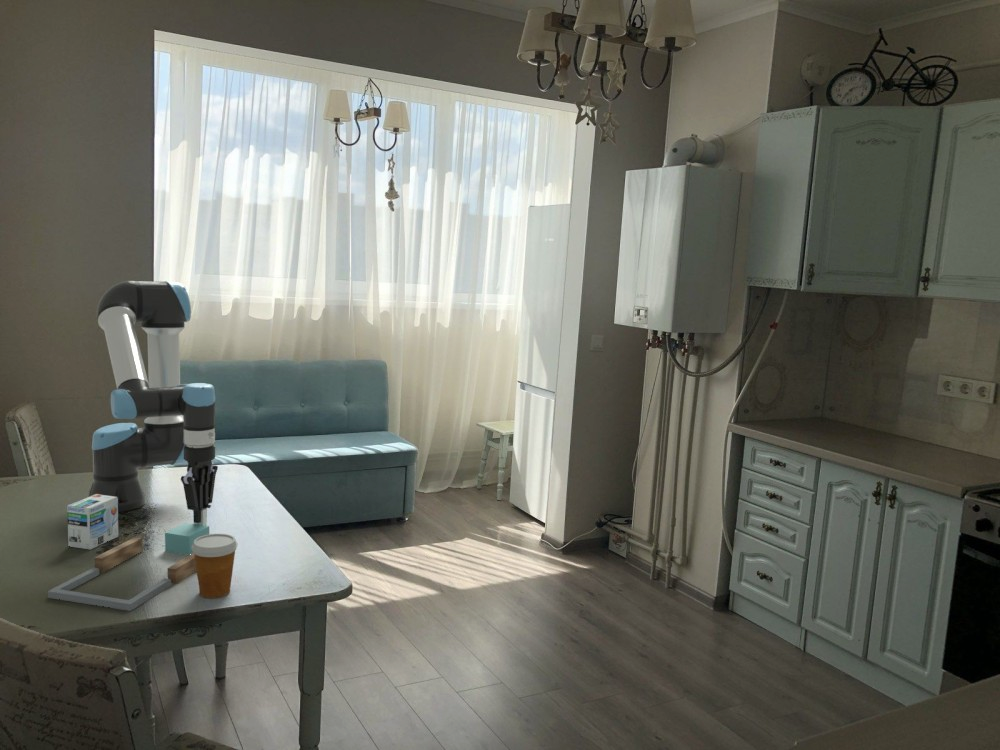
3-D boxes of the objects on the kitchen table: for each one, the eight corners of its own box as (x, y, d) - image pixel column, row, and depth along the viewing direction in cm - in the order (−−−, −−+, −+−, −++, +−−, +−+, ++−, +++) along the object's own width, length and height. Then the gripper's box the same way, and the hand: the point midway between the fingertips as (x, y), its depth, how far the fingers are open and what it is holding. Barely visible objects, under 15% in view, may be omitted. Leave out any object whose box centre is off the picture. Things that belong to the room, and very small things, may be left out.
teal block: (186, 541, 203) (185, 522, 202) (209, 544, 201) (209, 526, 200) (165, 551, 195) (164, 532, 194) (189, 555, 193) (189, 536, 192)
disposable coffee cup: (192, 604, 167) (192, 550, 165) (191, 586, 176) (190, 535, 174) (239, 598, 171) (239, 545, 169) (235, 581, 179) (235, 531, 178)
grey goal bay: (93, 573, 180) (93, 567, 179) (171, 585, 176) (170, 579, 175) (48, 597, 167) (47, 591, 166) (130, 611, 162) (130, 604, 162)
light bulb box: (90, 550, 193) (89, 508, 192) (67, 547, 195) (65, 505, 193) (119, 536, 204) (118, 496, 202) (97, 533, 205) (96, 493, 203)
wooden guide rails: (135, 550, 194) (135, 537, 194) (211, 561, 190) (211, 547, 189) (94, 571, 181) (94, 557, 180) (175, 584, 176) (175, 569, 176)
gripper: (197, 451, 192) (198, 543, 196) (226, 440, 205) (227, 526, 208) (170, 448, 194) (171, 539, 197) (201, 437, 206) (201, 523, 210)
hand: (200, 533), depth 203 cm, fingers closed
